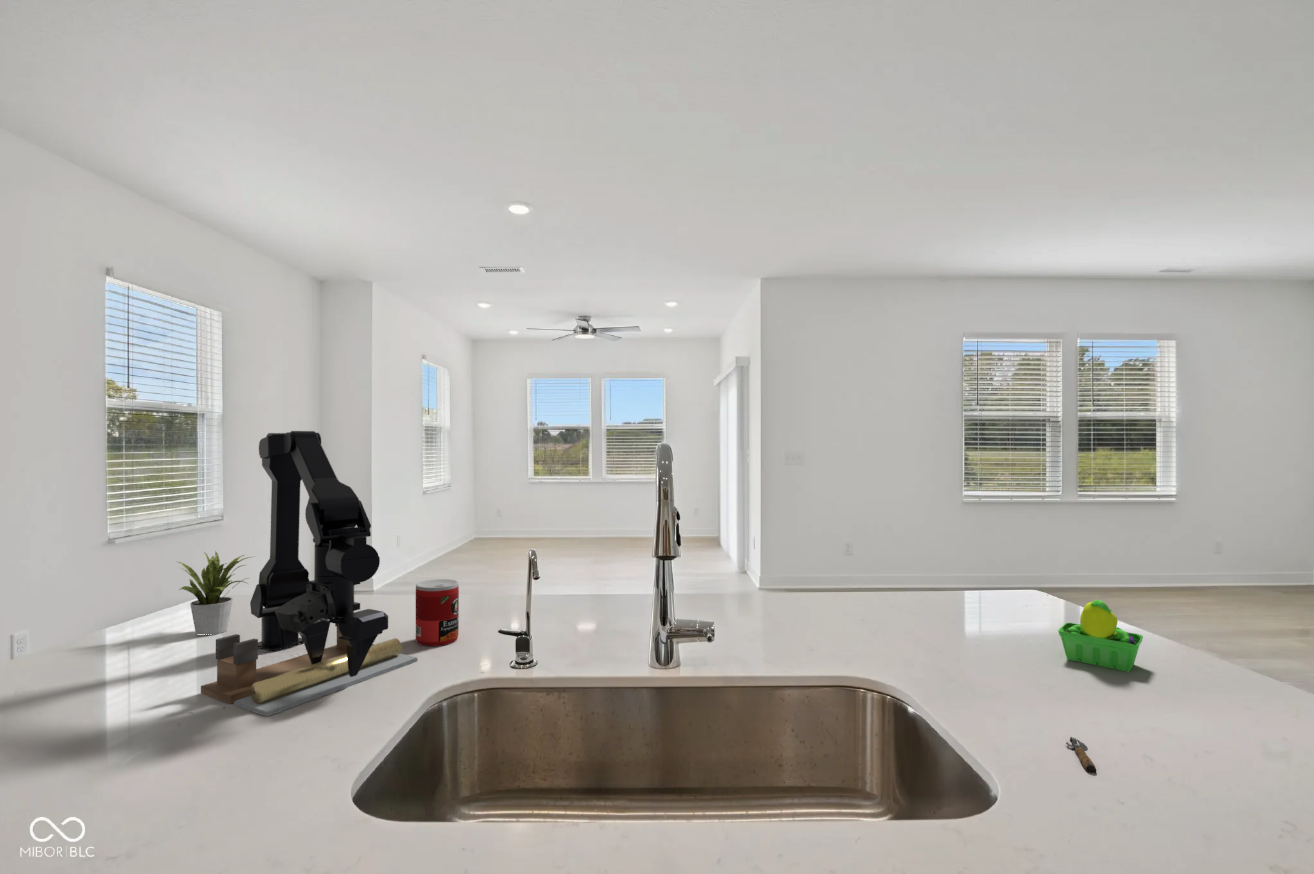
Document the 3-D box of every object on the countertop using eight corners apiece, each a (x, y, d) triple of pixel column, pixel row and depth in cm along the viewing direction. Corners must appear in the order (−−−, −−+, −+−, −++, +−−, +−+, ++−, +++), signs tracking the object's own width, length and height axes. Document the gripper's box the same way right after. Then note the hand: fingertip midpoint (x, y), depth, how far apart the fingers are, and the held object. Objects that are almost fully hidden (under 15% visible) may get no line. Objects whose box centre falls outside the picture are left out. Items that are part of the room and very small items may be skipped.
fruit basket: (1144, 664, 111) (1143, 598, 111) (1136, 678, 105) (1136, 607, 105) (1066, 649, 119) (1066, 587, 119) (1055, 661, 112) (1054, 596, 112)
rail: (263, 704, 92) (261, 682, 93) (251, 703, 94) (249, 682, 94) (402, 655, 113) (400, 638, 114) (390, 655, 115) (389, 638, 115)
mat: (234, 705, 94) (234, 701, 94) (386, 653, 117) (386, 650, 117) (267, 716, 90) (267, 712, 90) (417, 660, 113) (417, 657, 113)
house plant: (272, 629, 132) (272, 549, 133) (195, 647, 121) (195, 559, 121) (237, 619, 140) (237, 543, 140) (161, 635, 128) (162, 552, 128)
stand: (230, 703, 95) (230, 648, 95) (200, 693, 98) (201, 640, 98) (382, 652, 117) (382, 608, 117) (353, 646, 121) (353, 603, 121)
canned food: (446, 648, 120) (446, 588, 120) (406, 645, 122) (407, 586, 122) (466, 636, 128) (466, 579, 128) (429, 633, 129) (429, 578, 129)
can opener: (1096, 776, 74) (1096, 766, 74) (1072, 771, 75) (1072, 761, 75) (1085, 744, 82) (1085, 735, 82) (1063, 740, 83) (1063, 731, 84)
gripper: (248, 576, 101) (248, 677, 101) (324, 589, 92) (324, 700, 92) (316, 564, 111) (315, 656, 111) (390, 575, 102) (390, 675, 102)
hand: (334, 671), depth 104 cm, fingers open, 9 cm apart
